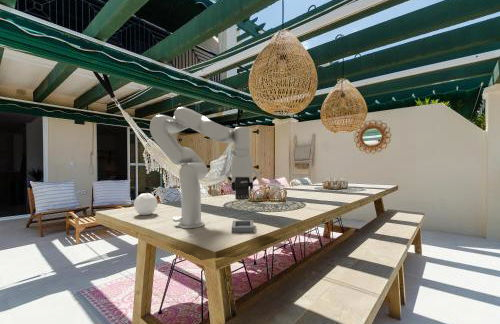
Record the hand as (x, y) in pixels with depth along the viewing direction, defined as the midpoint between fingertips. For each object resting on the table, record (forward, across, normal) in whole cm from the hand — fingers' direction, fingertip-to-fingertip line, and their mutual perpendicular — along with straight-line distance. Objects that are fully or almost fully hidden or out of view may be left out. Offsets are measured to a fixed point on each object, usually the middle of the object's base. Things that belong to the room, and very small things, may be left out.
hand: (242, 190), depth 123 cm
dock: (+18, 0, 0) cm, 18 cm away
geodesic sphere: (+19, -59, +35) cm, 71 cm away
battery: (+5, 0, 0) cm, 5 cm away
